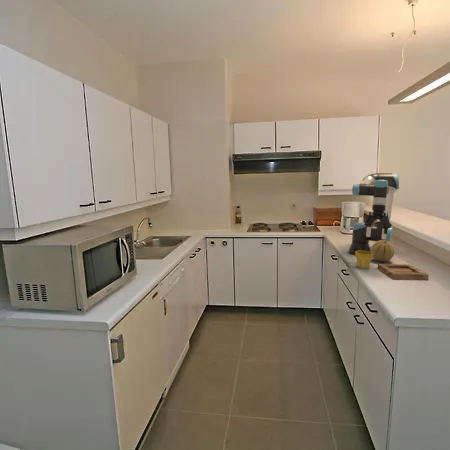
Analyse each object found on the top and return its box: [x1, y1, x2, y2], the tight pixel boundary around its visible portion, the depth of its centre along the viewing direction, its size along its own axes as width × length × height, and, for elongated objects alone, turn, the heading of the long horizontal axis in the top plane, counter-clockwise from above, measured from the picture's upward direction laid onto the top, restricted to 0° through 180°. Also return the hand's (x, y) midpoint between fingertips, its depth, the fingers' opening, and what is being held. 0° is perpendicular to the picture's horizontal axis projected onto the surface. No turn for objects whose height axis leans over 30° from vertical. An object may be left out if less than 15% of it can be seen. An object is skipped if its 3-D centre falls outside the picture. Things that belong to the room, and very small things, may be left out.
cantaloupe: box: [370, 240, 395, 263], centre depth 219 cm, size 15×15×15 cm
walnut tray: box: [377, 263, 430, 281], centre depth 193 cm, size 20×20×3 cm
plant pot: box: [354, 251, 374, 269], centre depth 206 cm, size 10×10×10 cm
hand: (375, 238), depth 204 cm, fingers open, 13 cm apart
